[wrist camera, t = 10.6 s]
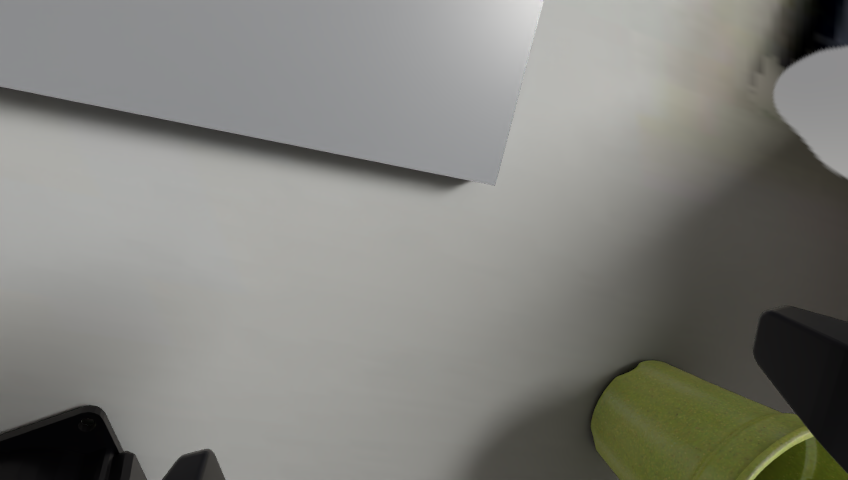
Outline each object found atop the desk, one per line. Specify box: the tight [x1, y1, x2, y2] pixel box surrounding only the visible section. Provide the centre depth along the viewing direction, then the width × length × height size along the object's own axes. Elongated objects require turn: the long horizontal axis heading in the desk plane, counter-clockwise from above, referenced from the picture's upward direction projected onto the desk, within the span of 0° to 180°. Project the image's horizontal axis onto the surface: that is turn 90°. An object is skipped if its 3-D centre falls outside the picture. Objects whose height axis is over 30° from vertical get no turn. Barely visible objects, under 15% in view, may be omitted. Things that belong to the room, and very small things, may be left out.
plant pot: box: [591, 360, 848, 480], centre depth 25 cm, size 9×9×9 cm
